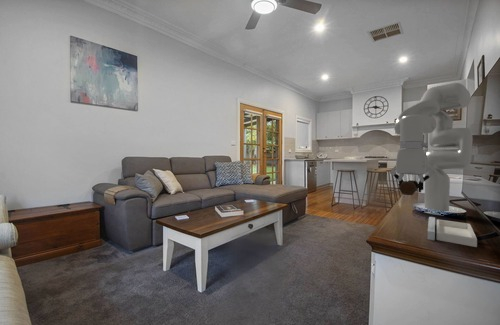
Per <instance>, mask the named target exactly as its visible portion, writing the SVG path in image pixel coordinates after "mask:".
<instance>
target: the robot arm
mask: <svg viewBox="0 0 500 325" xmlns="http://www.w3.org/2000/svg"><path fill="white" fill-rule="evenodd" d="M471 99H472V97H471V93H470V91H469V90H468V89H467V87H466V86H465V85H464V84H462V83H459V82H453V83H447V84H442V85H436V86H432V87H430V88H428V89H427V90H426V91H425V92H424V93H423V95H422V96H421V98H420V100H419V102H418V103H416V104H414V105H411V106H409V107H408V108H406V109H404V110H403V111H402V112H401V113H400V114H398V117H397V118H396V120H395V123H394V128H393V129H394V131H395V133H396V134H397V135H399V136H400V137H399V138H400V139H399V141H400V142H399V146H400V147H399V149H397V150H398V151H397V155H396V161H395V166H393V168H392V169H390V171H389V174H390V175H392V176H393V177H394V178H395V179H396V180H397V181H398V187H399V186H400V185H401V183H402V182H403V181H404V176H405V175H417V176H418V179H419V180H418V184H419V188H418V190H417V191H418V193H422V191H424V207H425V208H427V209H434V210H440V211H449V210H450V193H451V192H450V189H451V187H450V185H451V184H450V182H451V178H450V175H449V174H448V173H447V172H446V171H445V170H463V171H464V170H467V169H468V168H469V167H470V166H471V161H472V151H473V150H472V149H473V131H471V129H470V128H467V127H453V125H454V119H453V118H452V117H451V116H450V115H449V114H448V113H447V112H445V111H449V110H458V109H459V110H460V109H463V108H466V107H468V106H469V105H470V103H471ZM427 134H429V138H428V139H429V140H428V141H429V142H424V135H427ZM428 146H430V147H432V148H435V149H431V150H427V151H426V149H424V148H425V147H428ZM437 148H438V149H437ZM424 213H425V214H429V215H435V216H442V217H443V216H444V215H441V214H439V213H431V212H424Z"/></svg>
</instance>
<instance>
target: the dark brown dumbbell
mask: <svg viewBox="0 0 500 325" xmlns="http://www.w3.org/2000/svg"><path fill="white" fill-rule="evenodd" d="M398 189H399V191H400V192H401V194H402V195H405V196H413V195H414V193H416V192H417V191H418V190H419V182H418V181H417V180H407V181H406V180H405V181H404V180H403V182H402V183H401V185H400V186H399V185H398Z"/></svg>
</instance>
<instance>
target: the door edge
mask: <svg viewBox="0 0 500 325" xmlns="http://www.w3.org/2000/svg"><path fill="white" fill-rule="evenodd" d="M427 223H428V224H427V234H426V235H427V240H429V241H435V240H436V217H434V216H429V217H428V222H427Z"/></svg>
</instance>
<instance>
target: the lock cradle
mask: <svg viewBox="0 0 500 325" xmlns="http://www.w3.org/2000/svg"><path fill="white" fill-rule="evenodd" d="M435 227H436V241H441V242H445V243H452V244H458V245H462V246H463V245H464V246H467V247H468V246H469V247H474V248H477V247H478V239H477V238H478V237H477V236H476V234H475V232H474V229H473V227H472V225H471V223H467V222H466V223H465V222H461V221H460V222H459V221H451V220H446V219H445V220H444V219H439V218H438V219H437V218H436V224H435Z"/></svg>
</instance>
